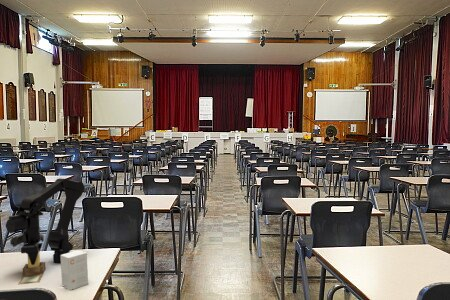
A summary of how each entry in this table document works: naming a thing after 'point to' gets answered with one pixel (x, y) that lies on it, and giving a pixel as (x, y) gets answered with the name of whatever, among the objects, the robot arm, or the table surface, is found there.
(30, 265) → the block
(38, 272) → the pocket
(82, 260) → the small box
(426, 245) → the table surface
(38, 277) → the board
